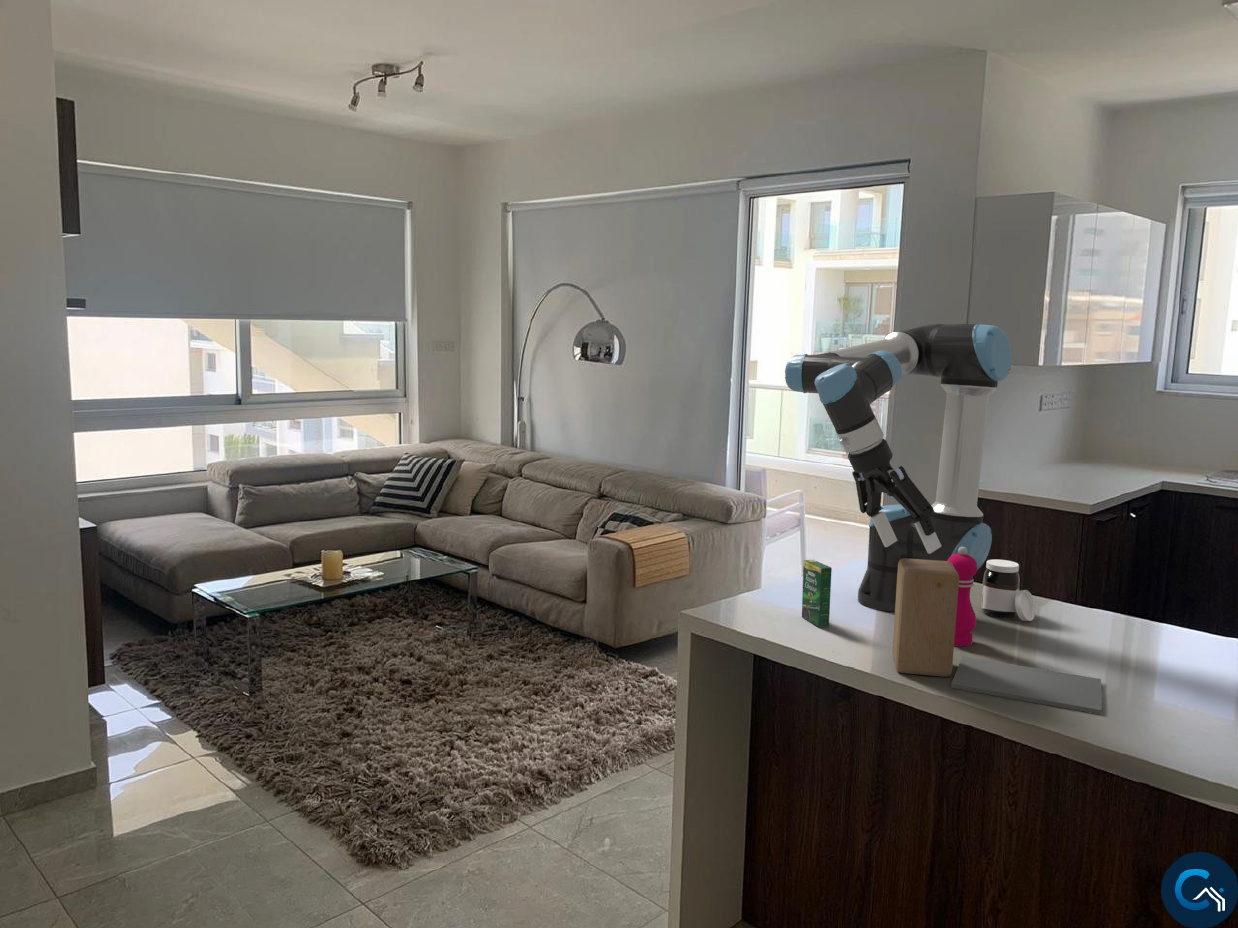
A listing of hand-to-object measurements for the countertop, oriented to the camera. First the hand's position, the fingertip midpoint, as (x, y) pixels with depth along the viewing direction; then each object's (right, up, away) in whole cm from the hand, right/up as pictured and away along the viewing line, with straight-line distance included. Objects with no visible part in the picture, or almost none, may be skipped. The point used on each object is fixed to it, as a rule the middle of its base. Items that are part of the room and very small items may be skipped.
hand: (912, 546), depth 175 cm
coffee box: (-12, -19, +29) cm, 37 cm away
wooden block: (+3, -23, +3) cm, 24 cm away
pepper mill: (+15, -21, +18) cm, 31 cm away
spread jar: (+33, -19, +37) cm, 53 cm away
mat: (+19, -25, -5) cm, 32 cm away
